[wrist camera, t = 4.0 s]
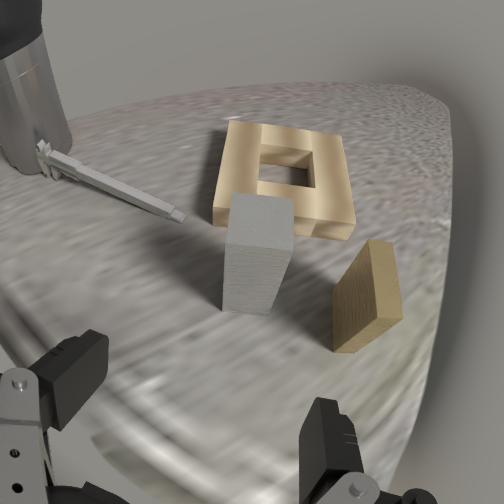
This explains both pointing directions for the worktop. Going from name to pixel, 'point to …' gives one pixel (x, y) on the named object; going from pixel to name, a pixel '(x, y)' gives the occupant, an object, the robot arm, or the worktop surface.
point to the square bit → (256, 251)
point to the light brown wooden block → (366, 298)
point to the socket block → (305, 198)
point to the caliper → (101, 182)
